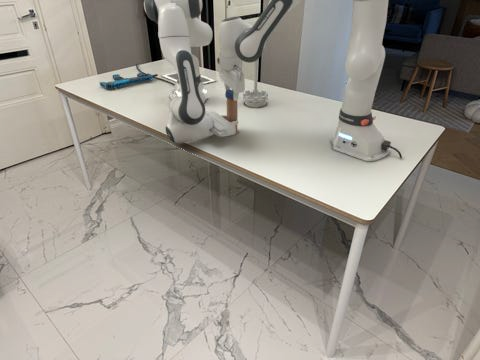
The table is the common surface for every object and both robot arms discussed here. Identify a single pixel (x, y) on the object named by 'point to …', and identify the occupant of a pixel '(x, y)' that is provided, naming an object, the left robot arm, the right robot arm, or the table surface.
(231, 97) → the lid
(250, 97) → the flag stand
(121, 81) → the submachine gun
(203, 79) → the tablet
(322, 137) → the table surface
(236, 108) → the jar
